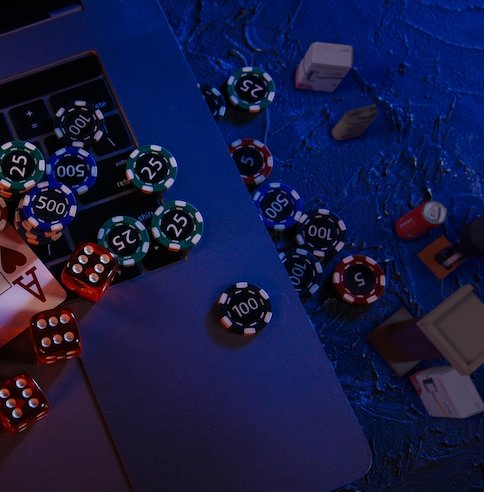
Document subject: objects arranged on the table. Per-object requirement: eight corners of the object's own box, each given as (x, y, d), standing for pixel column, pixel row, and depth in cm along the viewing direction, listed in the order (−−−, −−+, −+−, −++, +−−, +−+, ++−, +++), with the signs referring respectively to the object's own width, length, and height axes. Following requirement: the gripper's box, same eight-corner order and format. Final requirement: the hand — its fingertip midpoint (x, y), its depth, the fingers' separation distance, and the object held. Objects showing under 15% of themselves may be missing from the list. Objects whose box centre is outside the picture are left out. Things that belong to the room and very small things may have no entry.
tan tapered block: (334, 142, 134) (351, 122, 124) (328, 126, 134) (345, 105, 125) (365, 134, 134) (385, 113, 124) (359, 118, 135) (378, 97, 125)
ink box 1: (294, 90, 137) (311, 61, 125) (295, 69, 138) (312, 39, 126) (334, 94, 136) (354, 66, 125) (334, 73, 137) (354, 44, 126)
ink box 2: (407, 375, 122) (437, 373, 110) (430, 365, 122) (462, 362, 111) (429, 417, 120) (462, 420, 109) (452, 407, 120) (487, 409, 109)
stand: (401, 307, 125) (462, 288, 103) (435, 347, 123) (505, 336, 101) (364, 336, 124) (417, 323, 102) (398, 377, 122) (460, 373, 100)
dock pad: (462, 286, 103) (470, 283, 101) (507, 336, 101) (516, 335, 99) (415, 323, 102) (422, 321, 99) (460, 375, 100) (468, 375, 97)
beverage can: (390, 234, 129) (417, 218, 117) (398, 213, 130) (426, 195, 118) (413, 245, 128) (443, 229, 116) (421, 223, 129) (452, 206, 118)
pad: (440, 236, 126) (457, 227, 120) (463, 260, 125) (481, 253, 119) (416, 255, 126) (432, 247, 119) (439, 280, 124) (456, 273, 118)
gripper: (480, 274, 105) (431, 291, 122) (538, 226, 107) (482, 250, 124) (448, 240, 107) (405, 261, 124) (506, 194, 108) (456, 221, 125)
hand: (444, 255), depth 124 cm, fingers closed on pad, 2 cm apart
